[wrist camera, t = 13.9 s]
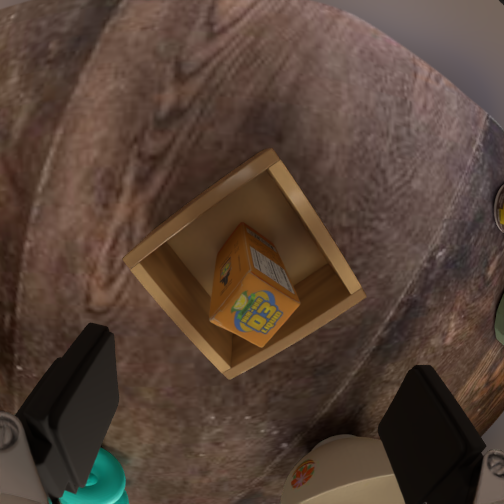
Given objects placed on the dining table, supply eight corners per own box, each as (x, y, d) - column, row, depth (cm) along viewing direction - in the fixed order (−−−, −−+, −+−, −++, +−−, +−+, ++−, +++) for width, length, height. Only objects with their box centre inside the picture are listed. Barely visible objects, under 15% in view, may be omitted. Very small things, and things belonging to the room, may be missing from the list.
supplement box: (253, 279, 25) (259, 355, 15) (215, 254, 24) (200, 319, 15) (279, 245, 24) (303, 305, 15) (242, 218, 24) (242, 264, 14)
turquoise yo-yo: (132, 452, 32) (114, 514, 23) (135, 486, 35) (122, 539, 26) (61, 429, 31) (34, 483, 22) (73, 467, 34) (53, 515, 25)
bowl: (302, 493, 36) (310, 549, 26) (245, 441, 32) (246, 514, 22) (406, 448, 34) (431, 501, 24) (379, 382, 30) (415, 451, 20)
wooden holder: (151, 231, 24) (121, 259, 18) (263, 149, 23) (271, 147, 16) (231, 330, 27) (228, 380, 21) (338, 261, 26) (367, 296, 19)
